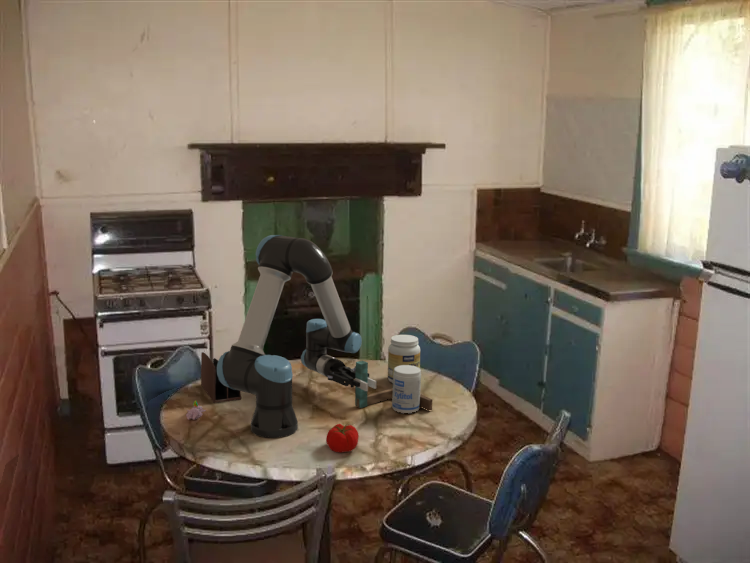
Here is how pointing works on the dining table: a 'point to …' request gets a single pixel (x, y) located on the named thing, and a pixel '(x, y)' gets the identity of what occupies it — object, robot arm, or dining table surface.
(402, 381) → the supplement tub
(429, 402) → the wooden frame
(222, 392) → the letter holder
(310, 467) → the dining table surface
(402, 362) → the supplement tub
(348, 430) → the tomato
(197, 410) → the rabbit figure
